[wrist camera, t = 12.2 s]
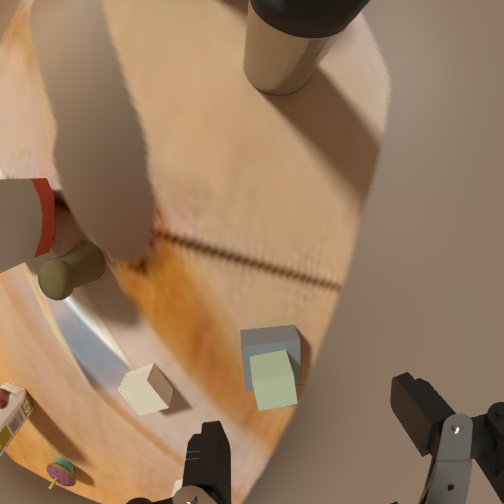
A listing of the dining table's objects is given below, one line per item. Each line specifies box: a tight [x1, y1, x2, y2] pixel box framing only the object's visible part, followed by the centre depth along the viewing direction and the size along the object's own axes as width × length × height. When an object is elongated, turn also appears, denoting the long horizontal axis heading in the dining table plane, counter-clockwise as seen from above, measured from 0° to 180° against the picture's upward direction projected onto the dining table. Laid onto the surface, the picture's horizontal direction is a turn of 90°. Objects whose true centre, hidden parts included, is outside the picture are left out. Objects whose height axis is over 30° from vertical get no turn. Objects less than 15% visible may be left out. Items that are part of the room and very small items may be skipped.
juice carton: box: [0, 382, 33, 456], centre depth 36 cm, size 8×9×19 cm
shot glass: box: [171, 479, 183, 497], centre depth 48 cm, size 7×7×7 cm
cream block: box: [118, 363, 174, 416], centre depth 42 cm, size 6×6×5 cm
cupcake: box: [47, 458, 76, 489], centre depth 44 cm, size 9×8×12 cm
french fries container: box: [0, 178, 56, 273], centre depth 29 cm, size 5×11×18 cm, turn 177°
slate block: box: [240, 325, 300, 391], centre depth 42 cm, size 8×8×5 cm
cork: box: [38, 241, 105, 300], centre depth 34 cm, size 6×6×11 cm
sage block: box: [250, 350, 298, 411], centre depth 37 cm, size 5×5×6 cm
